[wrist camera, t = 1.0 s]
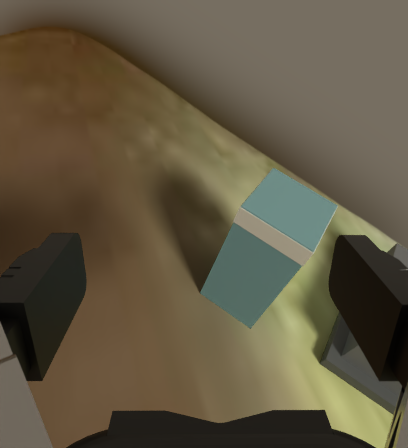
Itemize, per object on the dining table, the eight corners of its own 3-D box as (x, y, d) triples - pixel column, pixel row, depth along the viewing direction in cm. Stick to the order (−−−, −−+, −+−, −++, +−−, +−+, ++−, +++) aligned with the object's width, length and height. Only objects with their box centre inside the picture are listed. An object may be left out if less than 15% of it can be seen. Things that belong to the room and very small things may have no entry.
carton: (199, 293, 30) (240, 206, 21) (228, 255, 33) (273, 167, 25) (250, 329, 29) (314, 252, 20) (275, 286, 32) (338, 205, 24)
